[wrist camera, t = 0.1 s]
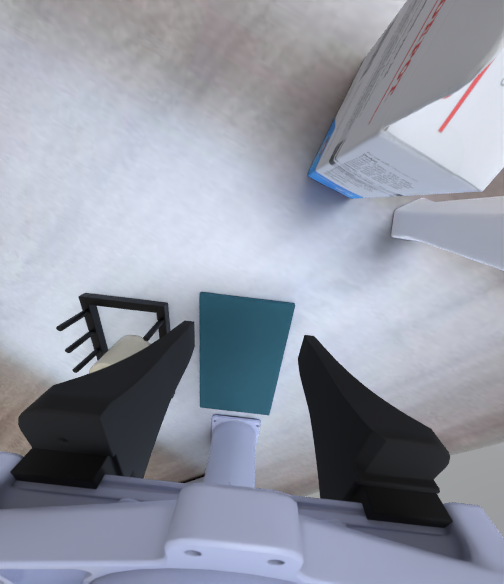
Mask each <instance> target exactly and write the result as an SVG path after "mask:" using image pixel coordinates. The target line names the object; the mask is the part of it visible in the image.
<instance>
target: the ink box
mask: <svg viewBox="0 0 504 584" xmlns="http://www.w3.org/2000/svg"><path fill="white" fill-rule="evenodd" d="M503 167H504V0H407V2H406V3H405V4H404V6H403V7H402V8H401V10H400V11H399V13H398V14H397V15H396V17H395V18H394V19H393V21H392V22H391V23H390V25H389V26H388V28H387V29H386V30H385V32H384V33H383V34H382V36H381V37H380V38H379V40H378V41H377V42H376V44H375V45H374V46H373V48H372V49H371V50H370V52H369V53H368V54H367V56H366V57H365V59H364V61H363V63H362V65H361V67H360V69H359V71H358V73H357V75H356V77H355V79H354V81H353V83H352V85H351V87H350V89H349V91H348V93H347V95H346V97H345V99H344V101H343V103H342V105H341V107H340V109H339V111H338V113H337V115H336V117H335V119H334V121H333V123H332V125H331V127H330V129H329V131H328V133H327V135H326V137H325V139H324V141H323V143H322V145H321V147H320V149H319V151H318V153H317V155H316V157H315V159H314V161H313V164H312V166H311V168H310V170H309V172H308V176H309V177H310V178H312V179H314V180H316V181H318V182H320V183H322V184H324V185H325V186H327V187H329V188H331V189H333V190H335V191H337V192H339V193H341V194H343V195H345V196H347V197H349V198H351V199H353V198H370V197H392V196H411V195H426V194H444V193H462V192H481V191H483V190H484V189H485V188H486V187H487V186H488V185H489V183H490V182H491V181H492V180H493V179H494V178H495V176H496V175H497V174H498V173H499V172H500V171H501V170H502V168H503Z"/></svg>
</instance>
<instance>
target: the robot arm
mask: <svg viewBox="0 0 504 584" xmlns="http://www.w3.org/2000/svg"><path fill="white" fill-rule="evenodd" d="M194 347H195V336H194V322H192V321H184V322H182V323H181V324H180V325H178V326H177V327H175V328H174V329H173V330H171V331H170V332H169V333H167V334H166V335H164V336H163V337H162V338H160V339H158V340H157V341H155V342H154V343H152V344H151V345H149V346H148V347H146V348H144V349H142V350H141V351H139V352H137V353H135V354H133V355H131V356H129V357H127V358H125V359H123V360H121V361H119V362H117V363H114V364H112V365H110V366H108V367H105V368H103V369H100V370H98V371H95V372H92V373H90V374H87V375H84V376H81V377H78V378H75V379H72V380H69V381H66V382H63V383H59V384H56V385H53V386H52V387H51V388H49V389H48V390H47V391H46V392H45V393H44V394H43V395H41V396H40V397H39V398H38V399H37V400H36V401H35V402H34V403H32V404H31V405H30V406H29V407H28V408H27V409H26V410H24V411H23V412H22V413H21V415H20V416H19V420H18V425H19V427H20V429H21V431H22V433H23V434H24V436H25V437H26V439H27V440H28V442H29V443H30V445H31V446H32V449H31V450H30V451H29V452H28V453H27V454H26V455H25V456H24V457H23V456H21V455H19V454H16V453H10V452H1V451H0V584H504V538H503V536H502V535H501V533H500V532H499V531H498V530H497V528H496V527H495V525H494V524H493V522H492V521H491V520H490V518H489V517H488V516H487V514H486V513H485V511H484V510H483V509H482V507H480V506H478V505H472V504H463V503H445V504H442V502H441V500H440V499H439V497H438V495H437V494H436V493H439V492H440V490H439V488H438V486H437V484H436V483H435V481H434V478H435V477H436V476H437V475H438V474H439V473H440V472H441V471H443V470H444V469H445V468H446V466H447V465H448V464H449V460H450V455H449V452H448V451H447V449H446V448H445V447H444V445H443V444H442V443H441V441H440V440H439V439H438V437H437V436H436V435H435V433H434V432H433V431H432V429H430V428H429V427H427V426H425V425H423V424H422V423H420V422H418V421H417V420H415V419H413V418H411V417H410V416H408V415H406V414H404V413H403V412H401V411H400V410H398V409H397V408H395V407H394V406H392V405H390V404H389V403H387V402H386V401H385V400H383V399H382V398H380V397H379V396H377V395H376V394H375V393H373V392H372V391H371V390H369V389H368V388H367V387H365V386H364V385H363V384H362V383H361V382H359V381H358V380H357V379H356V378H355V377H353V376H352V375H351V374H350V373H349V372H348V371H347V370H346V369H345V368H344V367H343V366H342V365H340V364H339V363H338V361H337V360H336V359H335V358H334V357H333V356H332V355H331V354H330V353H329V352H328V351H327V350H326V349H325V348H324V347H323V345H322V344H321V343H320V342H319V341H318V340H317V339H316V338H315V337H314V336H309V335H304V339H303V342H302V346H301V349H300V353H299V356H298V365H299V372H300V377H301V381H302V385H303V389H304V393H305V397H306V401H307V405H308V409H309V413H310V419H311V425H312V431H313V438H314V446H315V453H316V461H317V470H318V479H319V489H320V498H311V497H302V496H293V495H288V494H286V493H284V492H280V491H275V490H269V489H260V488H255V451H256V444H257V439H258V435H259V430H260V425H261V421H260V420H255V419H247V418H238V417H229V416H221V415H213V417H212V435H211V448H210V453H209V458H208V463H207V468H206V472H205V477H204V482H203V483H193V484H186V483H177V482H169V481H160V480H151V479H143V477H144V474H145V471H146V468H147V465H148V462H149V459H150V456H151V453H152V450H153V447H154V444H155V441H156V438H157V435H158V433H159V430H160V427H161V424H162V422H163V419H164V416H165V414H166V411H167V408H168V406H169V403H170V401H171V398H172V396H173V394H174V392H175V390H176V388H177V386H178V384H179V382H180V380H181V378H182V376H183V374H184V372H185V369H186V367H187V365H188V363H189V361H190V359H191V356H192V353H193V350H194Z"/></svg>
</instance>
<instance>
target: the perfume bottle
mask: <svg viewBox="0 0 504 584" xmlns="http://www.w3.org/2000/svg"><path fill="white" fill-rule="evenodd" d="M391 236H392V237H394V238H400V239H405V240H411V241H417V240H418V241H421V242H424V243H426V244H429V245H432V246H435V247H438V248H441V249H444V250H446V251H449V252H452V253H455V254H458V255H461V256H463V257H466V258H469V259H472V260H475V261H478V262H480V263H483V264H486V265H489V266H492V267H495V268H497V269H500V270H503V271H504V196H499V197H488V198H476V199H465V200H454V201H443V202H433V201H430V200H428V199H426V198H423V197H422V198H419V199H417V200H415V201H413V202H411V203H409V204H406V205H404V206H402V207H400V208H398V209H396V210H395V212H394V218H393V225H392V232H391Z"/></svg>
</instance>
